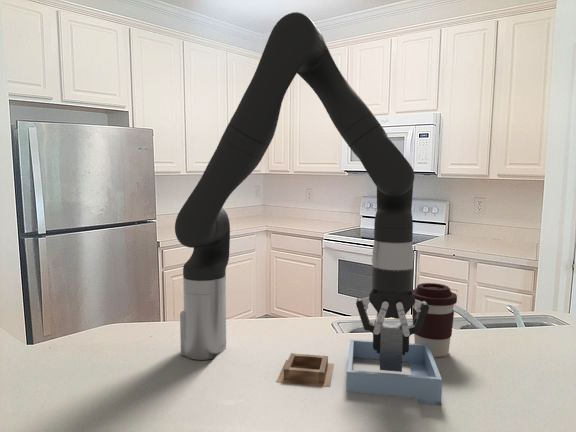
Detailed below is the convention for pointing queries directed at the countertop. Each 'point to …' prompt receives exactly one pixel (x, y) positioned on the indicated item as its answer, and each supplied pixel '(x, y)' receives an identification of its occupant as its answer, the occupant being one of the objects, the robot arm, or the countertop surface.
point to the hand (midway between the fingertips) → (390, 352)
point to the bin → (418, 384)
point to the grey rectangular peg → (391, 347)
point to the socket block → (307, 370)
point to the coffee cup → (435, 317)
